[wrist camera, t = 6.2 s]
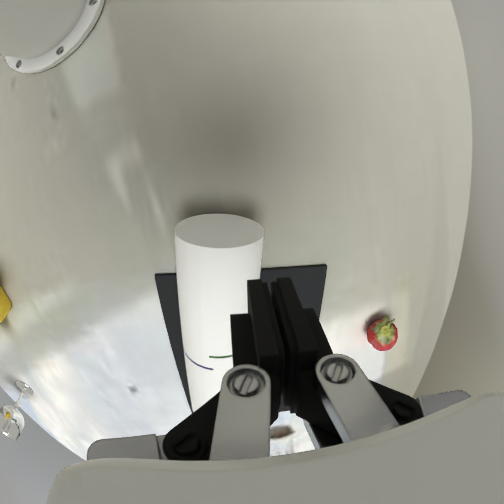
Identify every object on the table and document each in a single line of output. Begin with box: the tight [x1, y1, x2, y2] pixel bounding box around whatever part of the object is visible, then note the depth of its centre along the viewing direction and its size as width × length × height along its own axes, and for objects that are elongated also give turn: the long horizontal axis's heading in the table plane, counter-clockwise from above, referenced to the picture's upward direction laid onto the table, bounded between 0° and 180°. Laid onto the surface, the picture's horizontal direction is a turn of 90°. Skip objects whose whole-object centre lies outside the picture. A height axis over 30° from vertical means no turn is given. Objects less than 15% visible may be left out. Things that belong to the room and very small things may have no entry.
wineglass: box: [0, 381, 33, 441], centre depth 31 cm, size 6×6×12 cm
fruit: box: [367, 315, 398, 351], centre depth 33 cm, size 4×6×5 cm
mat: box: [155, 264, 327, 413], centre depth 35 cm, size 28×18×1 cm, turn 0°
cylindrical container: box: [174, 214, 264, 413], centre depth 28 cm, size 7×7×25 cm
